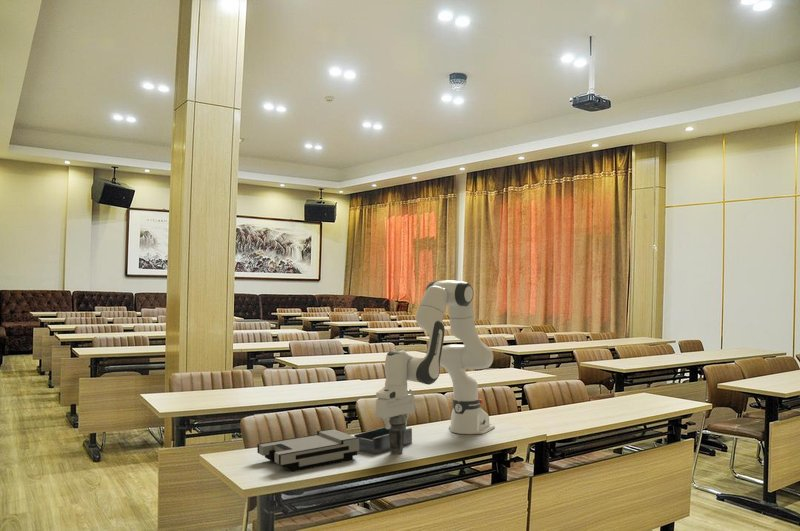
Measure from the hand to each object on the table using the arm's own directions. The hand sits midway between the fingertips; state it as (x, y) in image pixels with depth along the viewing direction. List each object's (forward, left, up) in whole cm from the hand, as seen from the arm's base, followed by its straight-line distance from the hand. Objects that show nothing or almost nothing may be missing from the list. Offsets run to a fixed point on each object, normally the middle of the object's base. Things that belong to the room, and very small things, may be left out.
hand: (396, 427), depth 236 cm
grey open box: (-5, -11, -10) cm, 16 cm away
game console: (+29, -19, -11) cm, 36 cm away
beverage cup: (0, 0, -10) cm, 10 cm away
